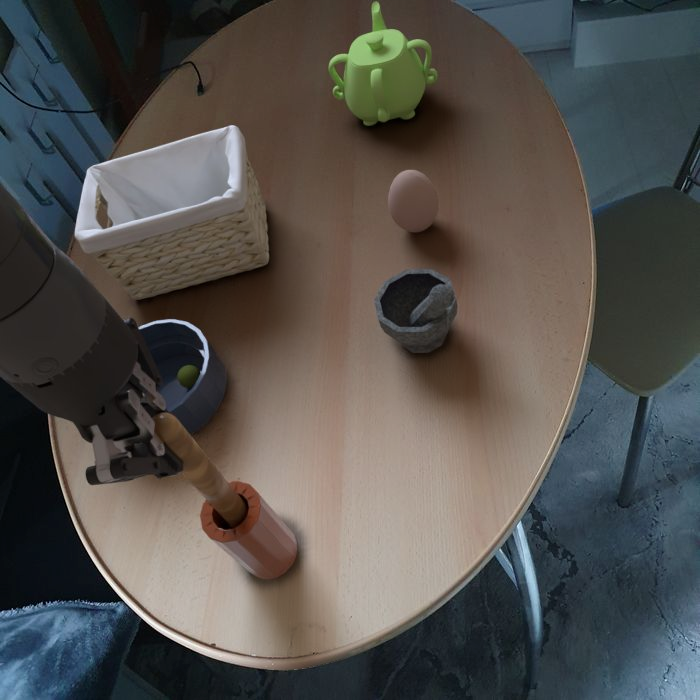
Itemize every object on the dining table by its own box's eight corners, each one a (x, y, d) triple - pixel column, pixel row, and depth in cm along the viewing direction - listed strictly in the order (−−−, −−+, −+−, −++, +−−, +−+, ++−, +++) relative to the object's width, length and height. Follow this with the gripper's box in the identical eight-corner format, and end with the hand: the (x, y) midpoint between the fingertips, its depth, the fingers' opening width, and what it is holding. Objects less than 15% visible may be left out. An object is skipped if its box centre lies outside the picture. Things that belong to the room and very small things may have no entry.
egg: (407, 205, 99) (395, 152, 91) (450, 214, 96) (441, 160, 88) (386, 238, 96) (372, 187, 88) (429, 248, 93) (419, 196, 85)
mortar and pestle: (370, 339, 87) (348, 278, 77) (418, 292, 89) (403, 228, 80) (435, 384, 80) (421, 325, 71) (486, 332, 83) (478, 268, 73)
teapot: (326, 109, 117) (305, 41, 107) (389, 66, 120) (375, -3, 110) (382, 146, 108) (365, 76, 98) (449, 99, 110) (439, 27, 100)
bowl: (194, 459, 82) (171, 435, 77) (99, 432, 88) (71, 407, 83) (247, 358, 89) (229, 329, 84) (156, 338, 95) (134, 311, 90)
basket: (124, 310, 100) (68, 241, 88) (133, 234, 110) (83, 163, 98) (278, 271, 97) (241, 195, 86) (273, 196, 107) (239, 119, 95)
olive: (198, 394, 87) (181, 390, 89) (209, 374, 88) (192, 370, 90) (185, 383, 85) (168, 378, 86) (197, 362, 86) (180, 359, 87)
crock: (284, 587, 71) (243, 550, 61) (235, 569, 73) (189, 531, 64) (306, 533, 74) (270, 490, 64) (258, 518, 76) (217, 474, 66)
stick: (255, 543, 67) (162, 438, 49) (234, 536, 68) (135, 430, 50) (265, 521, 68) (178, 410, 50) (244, 514, 69) (152, 403, 51)
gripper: (6, 261, 45) (133, 393, 59) (-35, 443, 36) (124, 548, 50) (111, 230, 44) (214, 372, 58) (93, 409, 36) (219, 525, 50)
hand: (172, 453), depth 54 cm, fingers closed on stick, 2 cm apart
